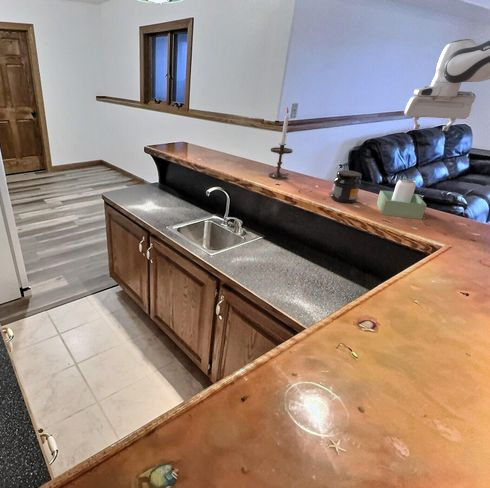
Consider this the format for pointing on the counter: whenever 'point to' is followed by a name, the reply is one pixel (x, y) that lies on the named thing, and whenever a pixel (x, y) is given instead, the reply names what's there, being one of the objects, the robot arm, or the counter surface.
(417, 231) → the counter surface
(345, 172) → the supplement container
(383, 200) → the box
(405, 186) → the can
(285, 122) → the candlestick
